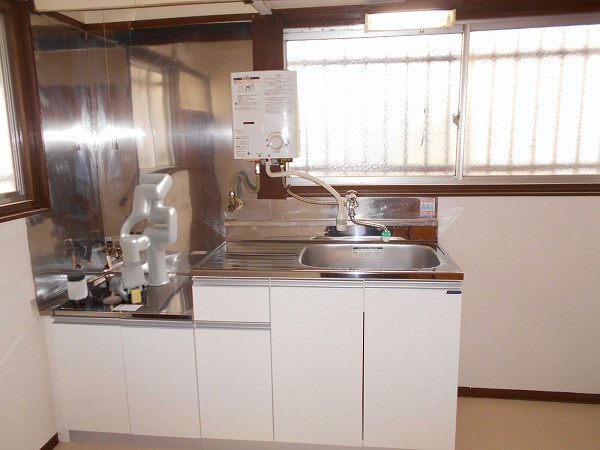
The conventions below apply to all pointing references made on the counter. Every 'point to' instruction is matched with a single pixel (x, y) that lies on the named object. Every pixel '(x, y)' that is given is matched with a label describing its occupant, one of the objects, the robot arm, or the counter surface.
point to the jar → (77, 286)
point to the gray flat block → (124, 294)
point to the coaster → (112, 300)
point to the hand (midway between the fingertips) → (135, 299)
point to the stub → (135, 295)
